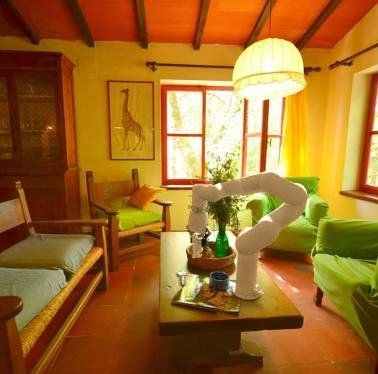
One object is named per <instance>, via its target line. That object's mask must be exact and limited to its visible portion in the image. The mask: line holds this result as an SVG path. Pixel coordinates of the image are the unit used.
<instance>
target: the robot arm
mask: <svg viewBox="0 0 378 374" xmlns="http://www.w3.org/2000/svg"><path fill="white" fill-rule="evenodd" d="M191 189H192V191H191V192H192V193H191V205H190V209H191V210H190V211H189V214H188V221H187V224H186V226H185V228H186V229H187V232H188V234H189V238H190V239H189V243H190V244H193V243H192V237H190V235H192V234H193V233H195V234H200V235H201V237H202V238H203V239H202V240H201V246H202V248H203V247H206V246H207V239H208V238H209V237H210V236H211V235H212V234H213V231H212V230H211V228H210V219H209V213H208V202H212V203H215V202H218V201H219V200H221V199H223V198H227V197H233V196H251V195H254V194H259V193H264V192H266V193H267V194H268V195H271V196H272V197H274V198H276V199H278V200H280V201H281V202H283V203H282V204H281V205H280V206H278V207H277V208H275V209H274V210H272V211H271V212H270V213H268V214H266V215H264V216H263V217H261V218H260V219H259V220H258V222H257V223H256V224H255V225H253V226H252V227H251V226H248V227H244V228H243V229H242V230H240V231H239V232H238V235H237V236H236V239H235V241H234V247H235V250H236V252H237V256H236V257H237V259H236V272H235V273H236V274H235V275H236V276H235V285H233V286H232V290H231V292H232V294H233V295H234V296H235V297H236V298H239V299H241V300H246V301H253V300H257V299H258V298H259V297H261V298H264V297H265V291H264V290H263V289H260V288H259V284H257V281H258V268H259V256H260V251H261V250H264V249H265V248H266V247H268V246H269V245H271V244H272V243H275V241H276V240H277V239H278V237H279V236H280V232H281V231H282V230H283V229H285V228H287V227H288V226H289V225H291V224H292V223H294V222H296V221H297V220H298V219H299V218H300V217H301V216H302V214H303V213H304V211H305V209H306V206H307V201H308V198H309V197H308V196H309V193H308V191H307V189H306V188H305V186H304V185H303V184H301V183H297V182H292V181H291V180H289V179H287V178H285V177H283V176H282V175H280V174H279V172H277V171H275V170H267V171H262V172H258V173H253V174H250V175H245V176H241V177H238V178H236V179H231V180H227V181H223V182H219V183H215V184H213V185H207V184H205V183H195V184H193V185H192V188H191Z"/></svg>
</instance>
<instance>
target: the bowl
mask: <svg viewBox="0 0 378 374" xmlns="http://www.w3.org/2000/svg"><path fill="white" fill-rule="evenodd" d="M208 277H209V278H208V284H209V286H210V285H211V286H210V287H211V288H212V289H214V290H216V291H225V290H227V289H228V288H229V287H230V277H231V276H230V275H229V274H228V273H226V272H224V271H212V272H210V273H209V275H208Z"/></svg>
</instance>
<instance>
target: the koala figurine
mask: <svg viewBox="0 0 378 374" xmlns="http://www.w3.org/2000/svg"><path fill="white" fill-rule="evenodd" d="M190 237H192V243H191V244H193V245H192V253H193V254H192V256H191V258H192V259H195V258H196V259H200V258H202V256H203V254H202V253H203V251H204V248H203V247H202V246H201V240H202V239H203V238H202V236H201V237H198V236H197V233H196V232H195V233H193V234H192V235H189V238H190Z"/></svg>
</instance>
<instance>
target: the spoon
mask: <svg viewBox="0 0 378 374" xmlns="http://www.w3.org/2000/svg"><path fill="white" fill-rule="evenodd" d="M177 276H179V277H181V278H180V279H181V286H185V285H186V283H185V277H186V276H187V272H186V271H183V270H180V271H178V272H177Z"/></svg>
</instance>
